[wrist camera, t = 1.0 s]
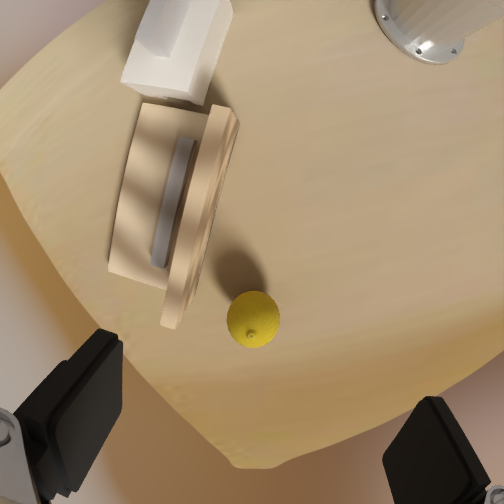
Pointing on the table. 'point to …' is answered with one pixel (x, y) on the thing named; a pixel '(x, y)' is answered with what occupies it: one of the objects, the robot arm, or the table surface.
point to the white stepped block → (177, 48)
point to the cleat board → (150, 190)
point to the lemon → (253, 319)
